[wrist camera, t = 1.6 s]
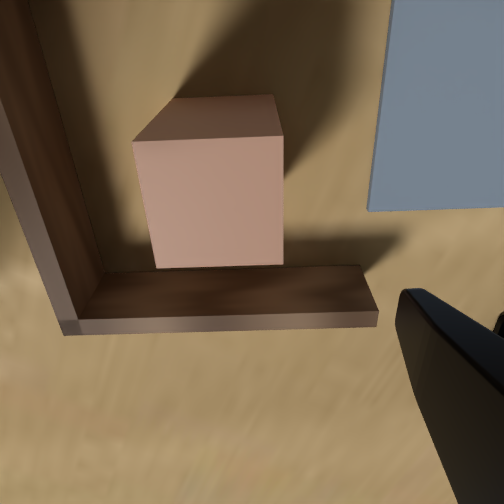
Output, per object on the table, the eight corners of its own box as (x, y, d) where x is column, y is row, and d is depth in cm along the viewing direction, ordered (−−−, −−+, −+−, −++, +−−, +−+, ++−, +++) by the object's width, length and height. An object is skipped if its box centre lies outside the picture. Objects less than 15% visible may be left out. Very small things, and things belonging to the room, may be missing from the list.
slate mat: (704, -151, 13) (716, -155, 13) (563, 201, 20) (568, 204, 20) (407, -135, 14) (412, -138, 13) (366, 208, 20) (368, 211, 20)
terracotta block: (273, 94, 18) (283, 135, 12) (274, 188, 20) (283, 264, 14) (172, 98, 18) (131, 141, 12) (185, 192, 20) (156, 268, 14)
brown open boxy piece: (401, -78, 14) (447, -107, 11) (357, 279, 23) (376, 326, 19) (-16, -57, 15) (-97, -78, 11) (91, 287, 23) (63, 335, 20)
